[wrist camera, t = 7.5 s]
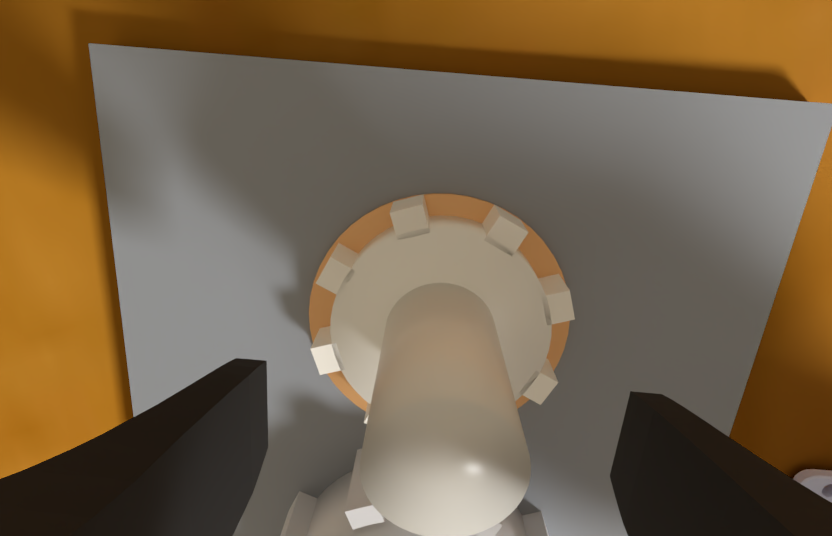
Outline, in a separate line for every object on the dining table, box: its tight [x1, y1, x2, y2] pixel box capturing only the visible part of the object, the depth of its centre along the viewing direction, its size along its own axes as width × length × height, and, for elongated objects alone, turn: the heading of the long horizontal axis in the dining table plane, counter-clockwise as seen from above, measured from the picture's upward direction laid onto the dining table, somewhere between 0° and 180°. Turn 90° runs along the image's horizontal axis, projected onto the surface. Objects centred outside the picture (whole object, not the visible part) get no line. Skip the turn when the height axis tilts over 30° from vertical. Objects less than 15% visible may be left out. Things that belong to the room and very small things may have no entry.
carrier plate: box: [88, 43, 832, 536], centre depth 15 cm, size 18×20×4 cm
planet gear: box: [310, 194, 575, 536], centre depth 12 cm, size 6×6×6 cm
